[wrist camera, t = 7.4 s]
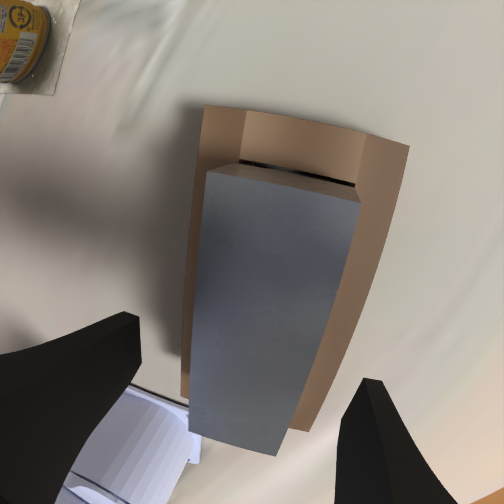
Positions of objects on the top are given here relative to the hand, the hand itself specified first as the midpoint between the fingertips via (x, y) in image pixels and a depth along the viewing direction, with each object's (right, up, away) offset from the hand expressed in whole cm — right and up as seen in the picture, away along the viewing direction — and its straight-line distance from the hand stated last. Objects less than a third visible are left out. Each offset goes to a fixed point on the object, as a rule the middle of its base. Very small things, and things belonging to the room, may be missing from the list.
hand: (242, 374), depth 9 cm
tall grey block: (+2, +3, +6) cm, 7 cm away
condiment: (-15, +18, +5) cm, 24 cm away
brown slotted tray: (+2, +3, +6) cm, 7 cm away
